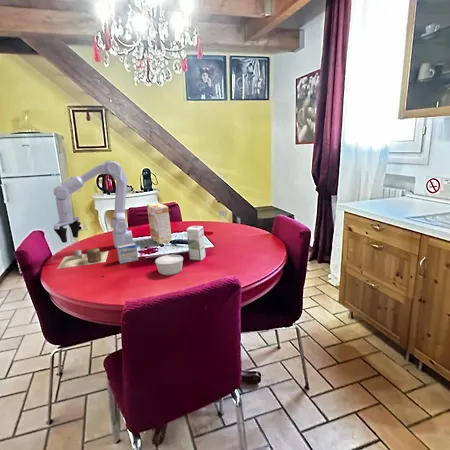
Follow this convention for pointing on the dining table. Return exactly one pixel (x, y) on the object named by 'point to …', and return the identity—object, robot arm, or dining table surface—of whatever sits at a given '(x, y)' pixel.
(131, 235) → the robot arm
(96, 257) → the walnut cap
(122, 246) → the medicine box
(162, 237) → the coffeecake box
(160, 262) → the ramekin
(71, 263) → the post board
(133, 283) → the dining table surface
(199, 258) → the syrup box
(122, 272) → the dining table surface
